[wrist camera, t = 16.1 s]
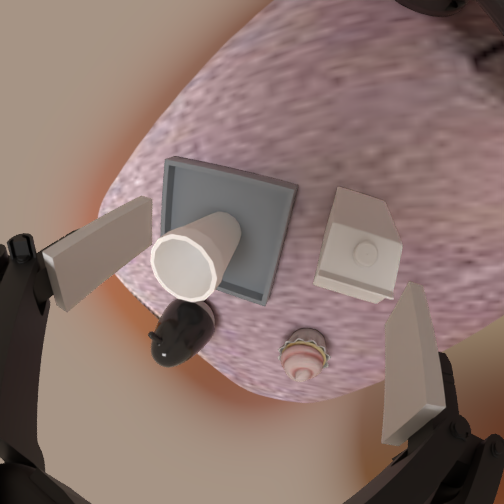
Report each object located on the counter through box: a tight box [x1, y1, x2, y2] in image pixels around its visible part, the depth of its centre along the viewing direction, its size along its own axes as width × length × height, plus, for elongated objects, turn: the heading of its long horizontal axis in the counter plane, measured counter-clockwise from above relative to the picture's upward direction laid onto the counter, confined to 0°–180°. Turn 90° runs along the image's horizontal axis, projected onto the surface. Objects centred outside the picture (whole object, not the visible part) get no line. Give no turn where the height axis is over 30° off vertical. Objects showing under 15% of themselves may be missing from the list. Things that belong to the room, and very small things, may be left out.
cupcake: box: [278, 328, 331, 382], centre depth 48 cm, size 9×9×10 cm
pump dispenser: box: [148, 299, 215, 367], centre depth 51 cm, size 10×10×15 cm
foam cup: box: [150, 211, 241, 302], centre depth 41 cm, size 10×9×13 cm
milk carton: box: [313, 187, 403, 304], centre depth 32 cm, size 7×7×19 cm
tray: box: [161, 156, 298, 306], centre depth 46 cm, size 20×20×3 cm
